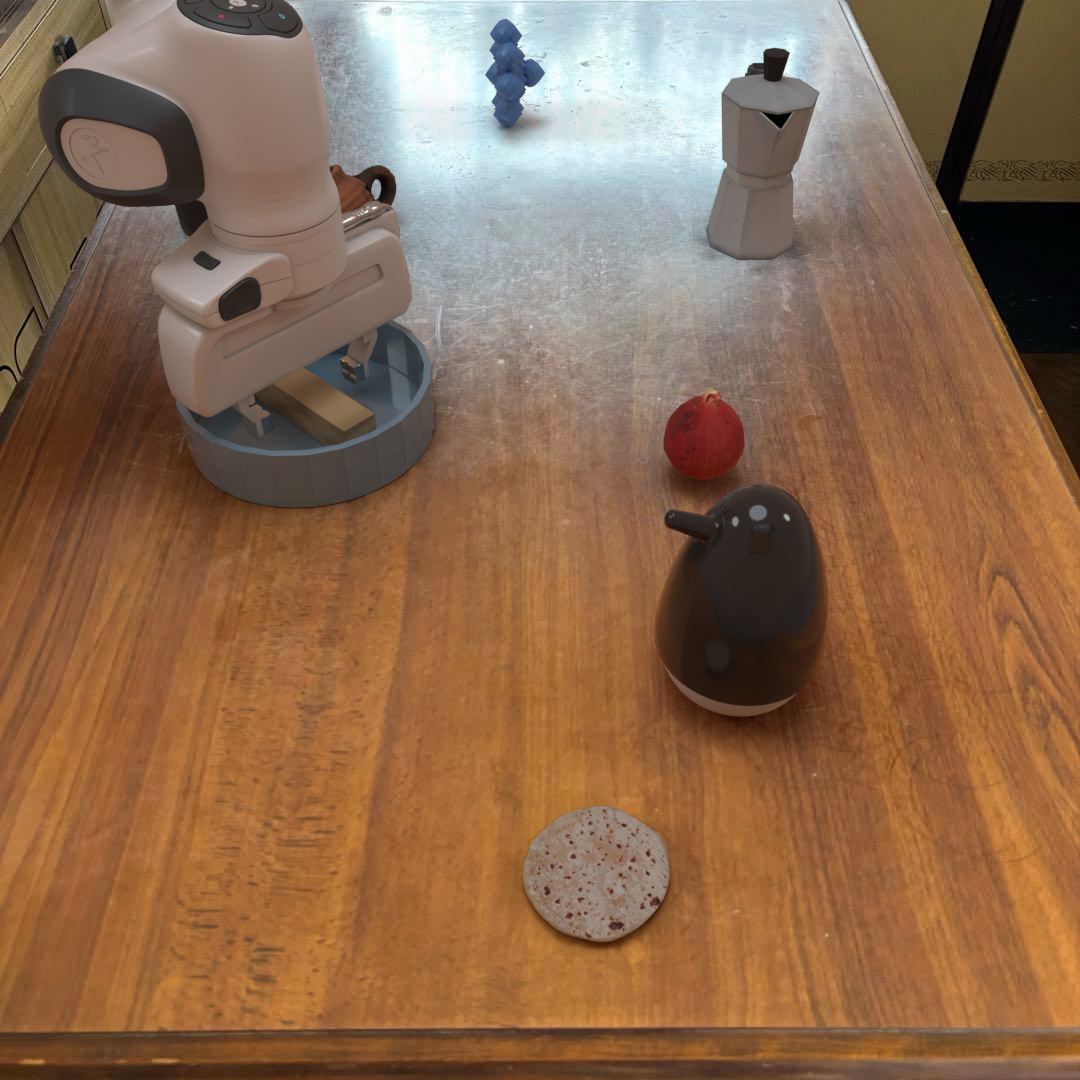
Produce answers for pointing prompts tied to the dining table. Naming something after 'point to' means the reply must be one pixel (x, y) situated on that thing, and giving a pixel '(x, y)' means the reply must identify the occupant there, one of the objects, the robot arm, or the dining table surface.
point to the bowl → (306, 464)
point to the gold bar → (318, 408)
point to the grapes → (510, 73)
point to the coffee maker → (760, 159)
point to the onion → (704, 437)
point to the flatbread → (596, 873)
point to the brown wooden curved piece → (363, 187)
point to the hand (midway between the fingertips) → (309, 404)
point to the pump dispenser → (744, 603)
